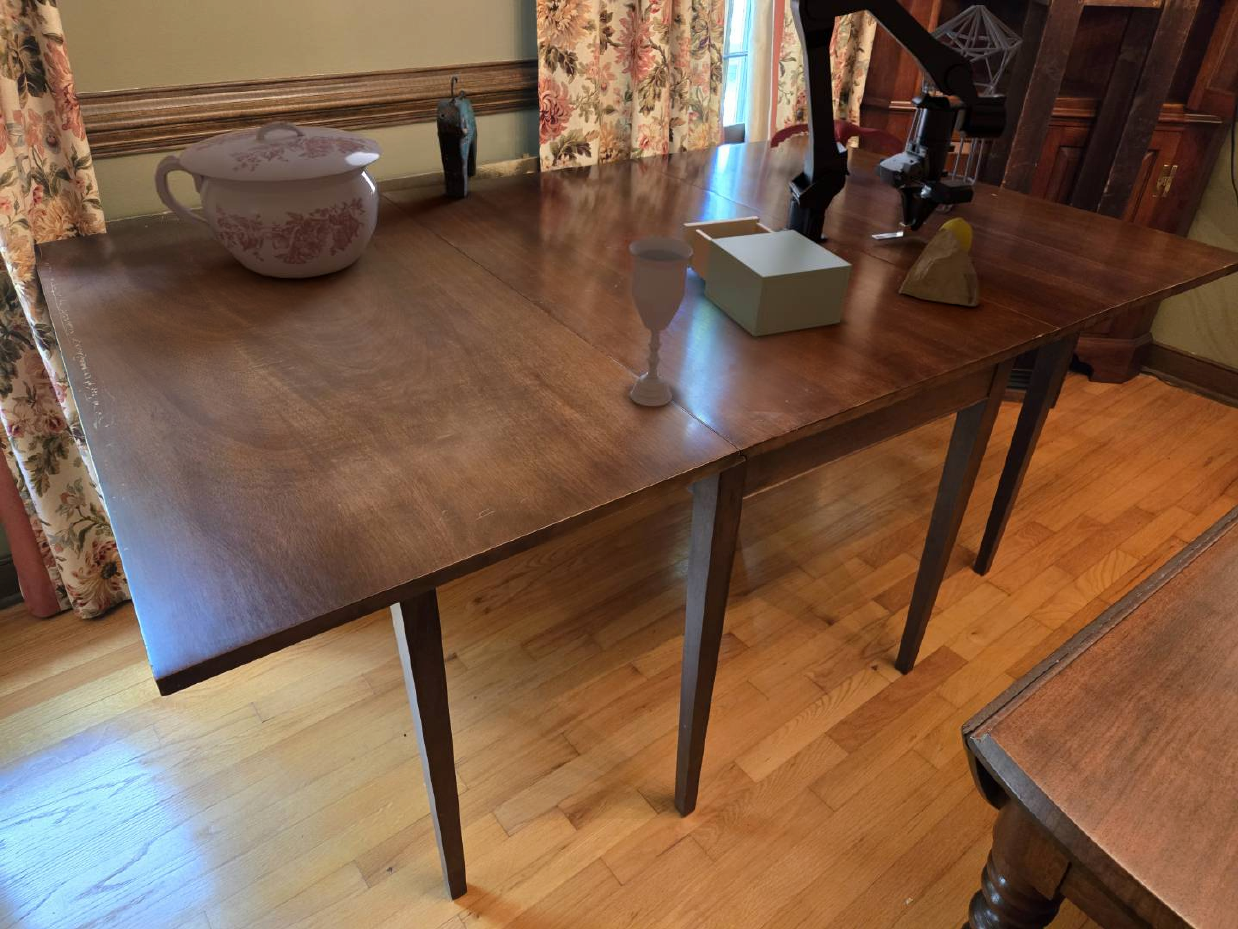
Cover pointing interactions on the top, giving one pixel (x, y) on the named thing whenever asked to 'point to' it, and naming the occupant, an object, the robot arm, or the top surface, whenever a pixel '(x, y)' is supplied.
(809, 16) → the robot arm
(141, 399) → the top surface
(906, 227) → the metal z bracket
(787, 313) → the cabinet
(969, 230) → the lemon
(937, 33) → the geometric lantern
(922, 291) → the rock
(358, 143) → the chamber pot
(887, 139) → the decorative bird sculpture
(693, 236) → the drawer
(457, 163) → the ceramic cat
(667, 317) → the chalice
